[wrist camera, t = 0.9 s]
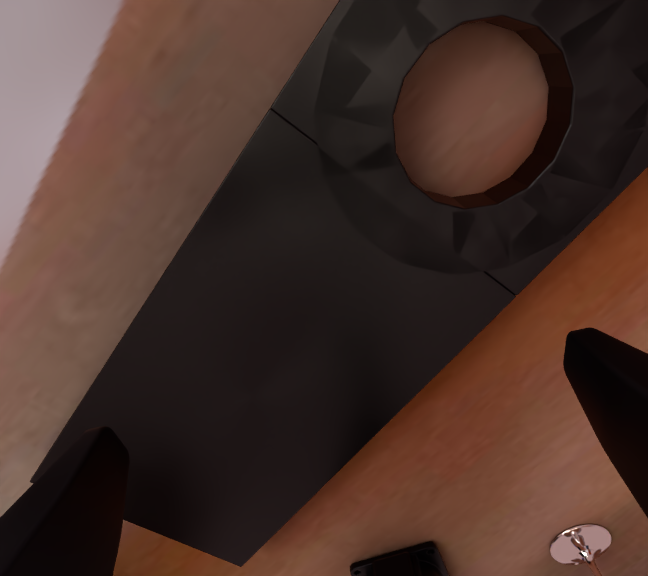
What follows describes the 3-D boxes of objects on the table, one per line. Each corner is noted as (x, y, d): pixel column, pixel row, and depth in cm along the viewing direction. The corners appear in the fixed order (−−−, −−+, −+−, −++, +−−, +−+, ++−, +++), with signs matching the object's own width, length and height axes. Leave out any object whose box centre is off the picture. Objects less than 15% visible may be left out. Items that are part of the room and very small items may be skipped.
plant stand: (245, 538, 31) (241, 567, 29) (47, 454, 27) (28, 482, 25) (696, 79, 19) (736, 80, 17) (464, -193, 15) (486, -228, 13)
